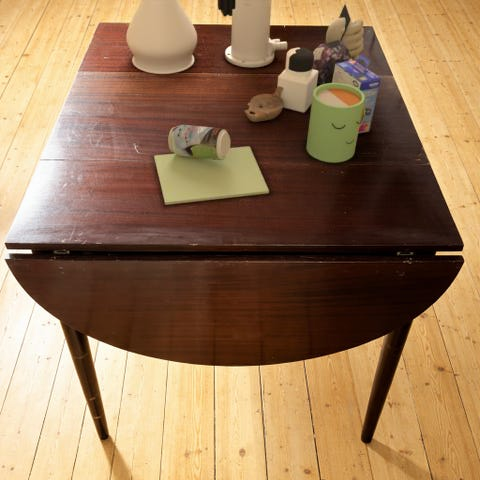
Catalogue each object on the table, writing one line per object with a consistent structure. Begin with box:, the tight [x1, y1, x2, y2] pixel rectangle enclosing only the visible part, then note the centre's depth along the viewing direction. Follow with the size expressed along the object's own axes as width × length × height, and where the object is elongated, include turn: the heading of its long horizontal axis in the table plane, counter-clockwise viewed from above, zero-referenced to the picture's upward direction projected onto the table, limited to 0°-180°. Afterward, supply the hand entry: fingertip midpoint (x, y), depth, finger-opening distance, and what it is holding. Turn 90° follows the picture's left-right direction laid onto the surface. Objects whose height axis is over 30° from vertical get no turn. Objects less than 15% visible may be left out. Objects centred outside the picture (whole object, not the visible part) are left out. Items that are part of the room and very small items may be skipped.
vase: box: [125, 0, 198, 75], centre depth 145 cm, size 17×17×25 cm
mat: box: [153, 145, 270, 206], centre depth 120 cm, size 20×16×1 cm
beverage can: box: [167, 124, 231, 160], centre depth 121 cm, size 6×7×12 cm
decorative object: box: [325, 4, 365, 61], centre depth 153 cm, size 13×10×10 cm
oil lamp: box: [244, 85, 284, 123], centre depth 136 cm, size 13×8×5 cm, turn 137°
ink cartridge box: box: [332, 54, 382, 135], centre depth 130 cm, size 10×6×14 cm, turn 27°
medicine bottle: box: [276, 47, 318, 114], centre depth 137 cm, size 7×7×12 cm
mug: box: [306, 83, 365, 163], centre depth 124 cm, size 13×10×12 cm
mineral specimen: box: [312, 40, 352, 86], centre depth 146 cm, size 10×10×10 cm
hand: (226, 13), depth 113 cm, fingers closed
